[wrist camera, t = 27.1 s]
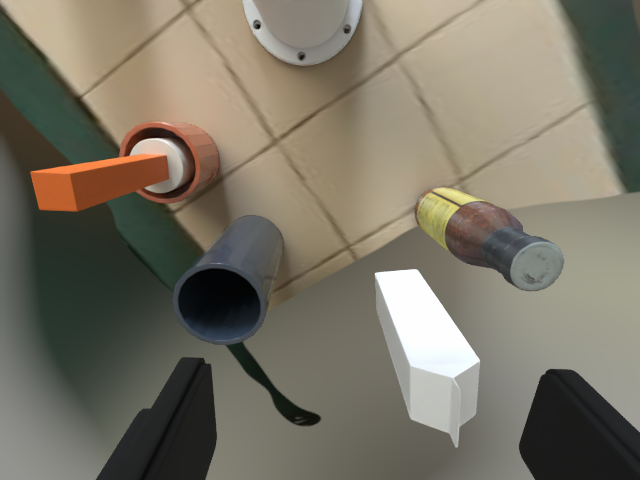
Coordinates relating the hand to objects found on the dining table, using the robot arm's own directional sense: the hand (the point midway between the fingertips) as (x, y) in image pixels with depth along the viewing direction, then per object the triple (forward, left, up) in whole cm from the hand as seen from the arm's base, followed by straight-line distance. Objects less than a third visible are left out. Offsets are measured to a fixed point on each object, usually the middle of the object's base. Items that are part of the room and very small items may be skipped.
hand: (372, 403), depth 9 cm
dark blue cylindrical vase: (+8, -10, -34) cm, 37 cm away
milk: (+14, +10, -34) cm, 39 cm away
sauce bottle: (+2, +14, -34) cm, 37 cm away
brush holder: (-3, -18, -34) cm, 39 cm away
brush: (-3, -18, -34) cm, 38 cm away
